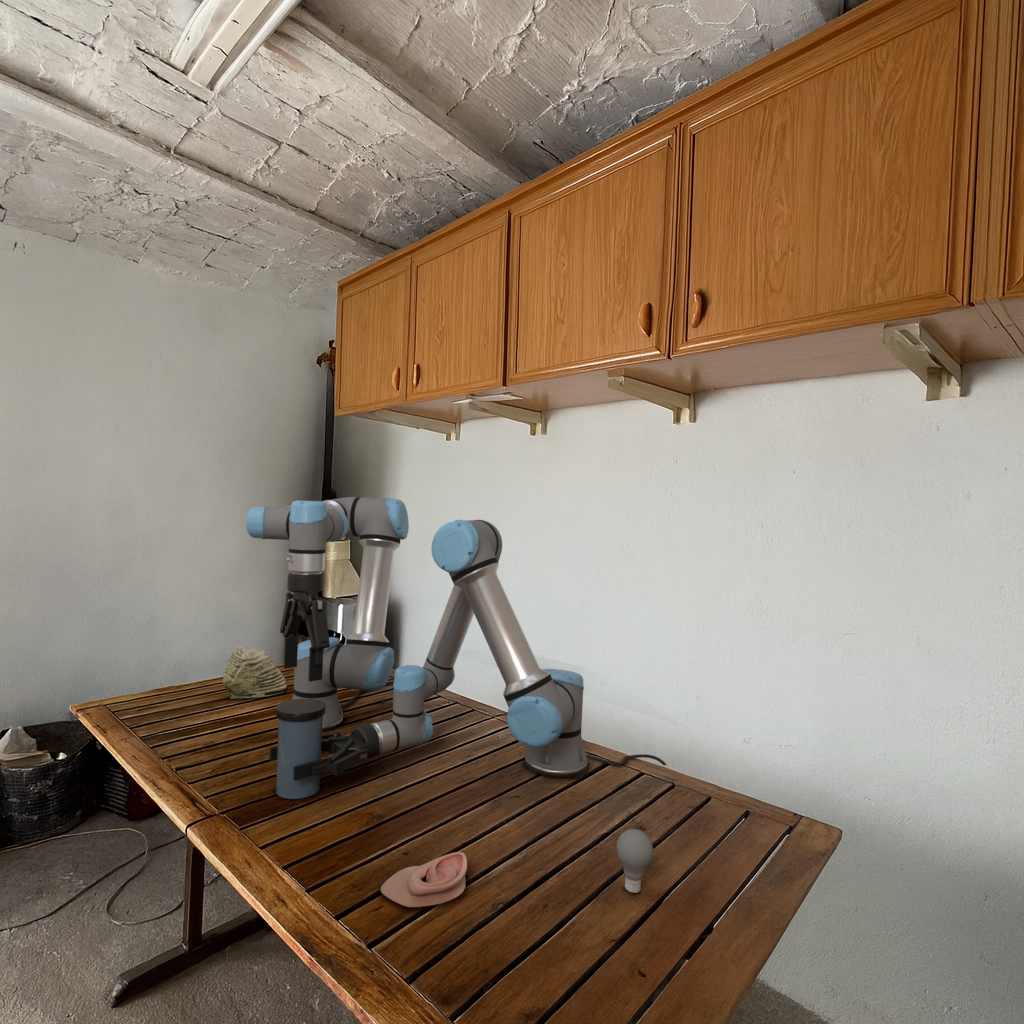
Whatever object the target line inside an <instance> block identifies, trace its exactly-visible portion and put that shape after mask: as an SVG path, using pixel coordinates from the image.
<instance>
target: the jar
mask: <svg viewBox="0 0 1024 1024" xmlns="http://www.w3.org/2000/svg"><path fill="white" fill-rule="evenodd" d="M322 718H323V716H322V717H320V718H317V719H314V720H309V721H300V722H292V721H284V720H281V719H279V718H278V721H277V722H278V724H277V725H278V726H277V746H278V748H277V760H276V775H275V776H276V778H275V779H276V780H275V794H276V795H277V796H278V797H280V798H283V799H287V800H299V799H304V798H308V797H311V796H313V795H315V794H317V793H318V792H319V791H320V788H321V774H317V775H314V776H310V777H306V778H303V779H299V780H296V781H294V780H293V770H294V766H297V765H301V764H305V763H309V762H312V761H316V760H320V759H322V752H321V743H322V734H323V731H322Z"/></svg>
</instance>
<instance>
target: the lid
mask: <svg viewBox="0 0 1024 1024" xmlns="http://www.w3.org/2000/svg"><path fill="white" fill-rule="evenodd" d="M292 699H293V698H292ZM292 699H289V700H284V701H283V702H280V703H278V704H277V705H276V707H275V717H276V718H277V719H278V720H279V719H281V720H284V721H292V722H300V721H309V720H314V719H317V718H320V717H322V716H323V715H324V714H325V710H326V704H325V703H324V702H323V701H321V700H317V699H293V700H292Z"/></svg>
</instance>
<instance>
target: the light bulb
mask: <svg viewBox="0 0 1024 1024" xmlns="http://www.w3.org/2000/svg"><path fill="white" fill-rule="evenodd" d="M615 849H616V854H617V857H618V859H619V861H620V863H621V865H622V867H623V873H624V874H623V875H624V876H625V878H624V888H625V890H627V891H628V892H630V893H634V894H635V893H639V892H640V891H641V889H642V887H641V886H642V879H643V877H644V875H645V871H646V868H647V867H648V866H649V864H650V863H651V861H652V859H653V855H654V847H653V843H652V841H651V838H649V836H648V835H647V834H646V833H645V832H643V831H642V830H641V829H636V828H629V829H627V830H625V831H623V832H622V833H621V834H620V835H619V837H618V839H617V841H616V847H615Z"/></svg>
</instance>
